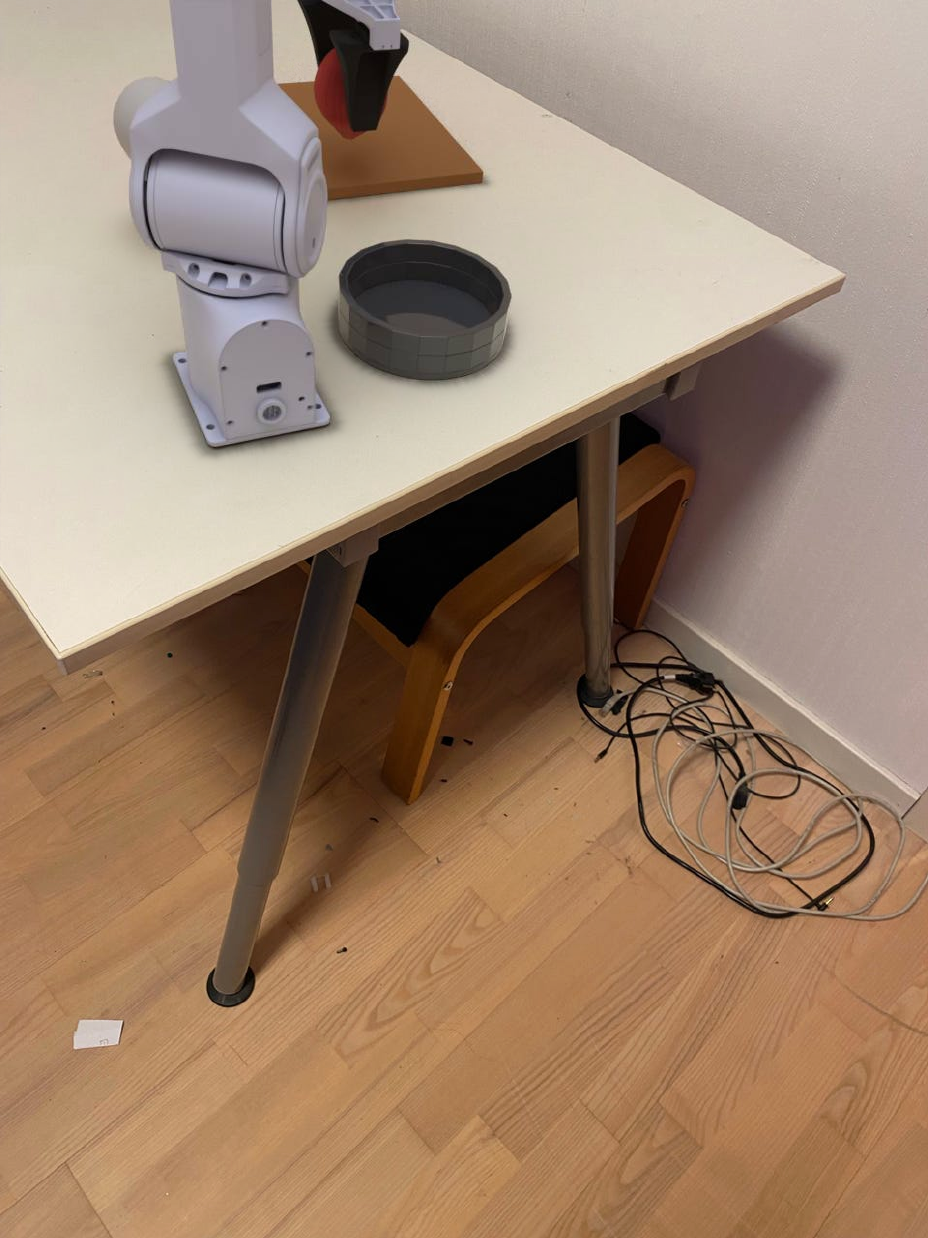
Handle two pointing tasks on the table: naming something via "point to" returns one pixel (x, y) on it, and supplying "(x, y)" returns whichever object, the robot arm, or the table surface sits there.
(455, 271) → the pan
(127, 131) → the lightbulb
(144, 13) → the table surface
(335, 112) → the onion
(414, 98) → the mat
